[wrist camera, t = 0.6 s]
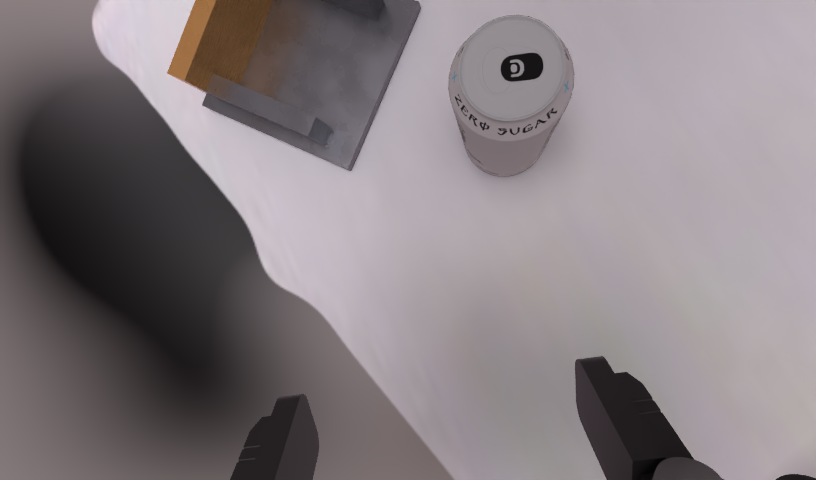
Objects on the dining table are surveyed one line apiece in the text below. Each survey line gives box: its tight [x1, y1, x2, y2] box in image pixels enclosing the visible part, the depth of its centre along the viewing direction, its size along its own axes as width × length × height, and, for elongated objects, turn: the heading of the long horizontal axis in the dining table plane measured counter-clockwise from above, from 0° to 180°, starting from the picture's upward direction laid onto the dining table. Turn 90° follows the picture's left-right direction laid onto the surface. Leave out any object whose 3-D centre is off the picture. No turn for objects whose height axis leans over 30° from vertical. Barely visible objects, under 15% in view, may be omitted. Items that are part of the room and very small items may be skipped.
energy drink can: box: [449, 15, 574, 176], centre depth 29 cm, size 6×6×15 cm
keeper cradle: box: [167, 0, 421, 171], centre depth 35 cm, size 14×14×7 cm
